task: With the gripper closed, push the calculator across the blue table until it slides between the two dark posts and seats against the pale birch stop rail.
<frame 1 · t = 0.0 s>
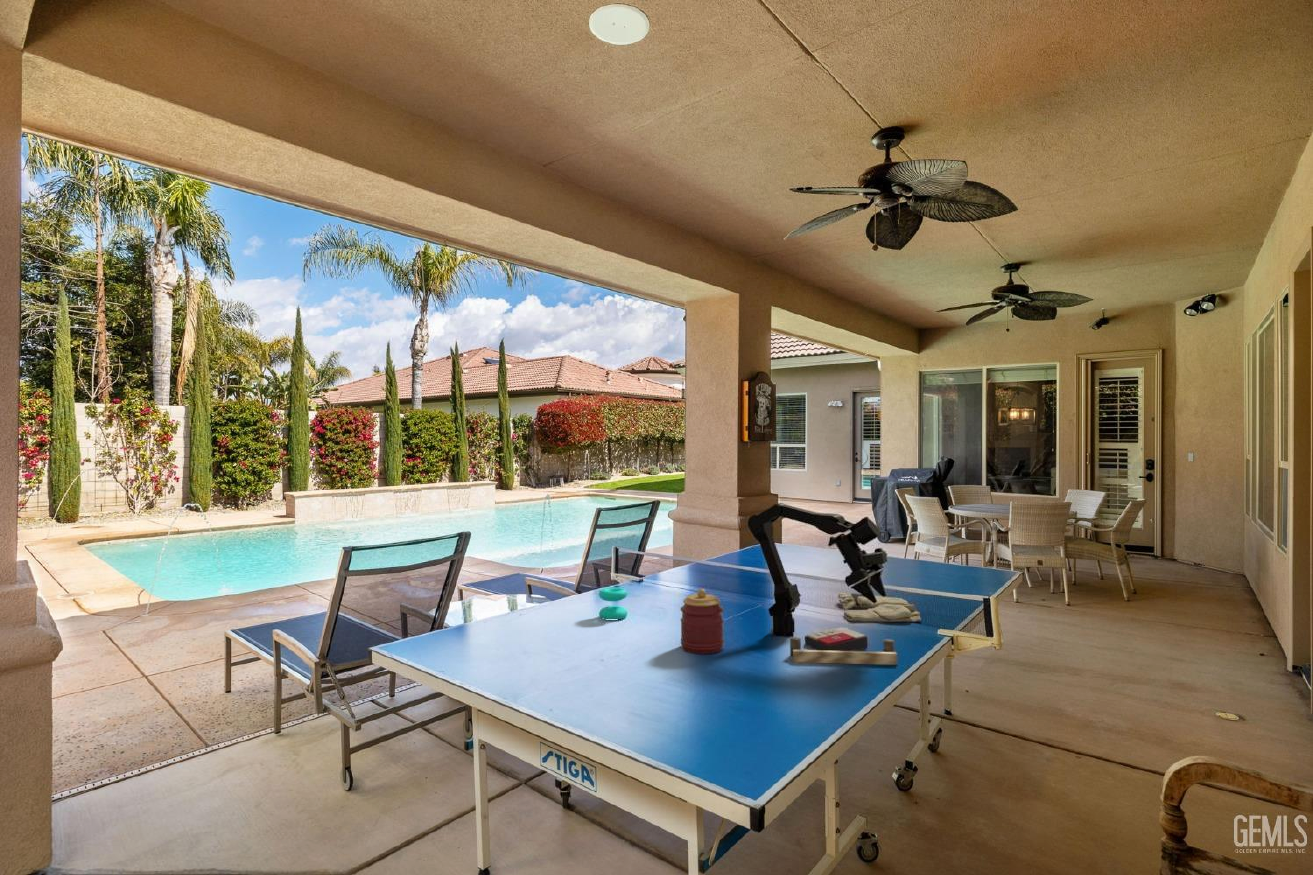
hand: (880, 599, 193), 15 cm above the table, tool tilted 35°, fingers open, 9 cm apart
pair of gloves: (877, 614, 236), on the table
canister: (702, 648, 197), on the table
seat bracket: (844, 662, 183), on the table
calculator: (836, 647, 198), on the table
donuts: (613, 618, 233), on the table
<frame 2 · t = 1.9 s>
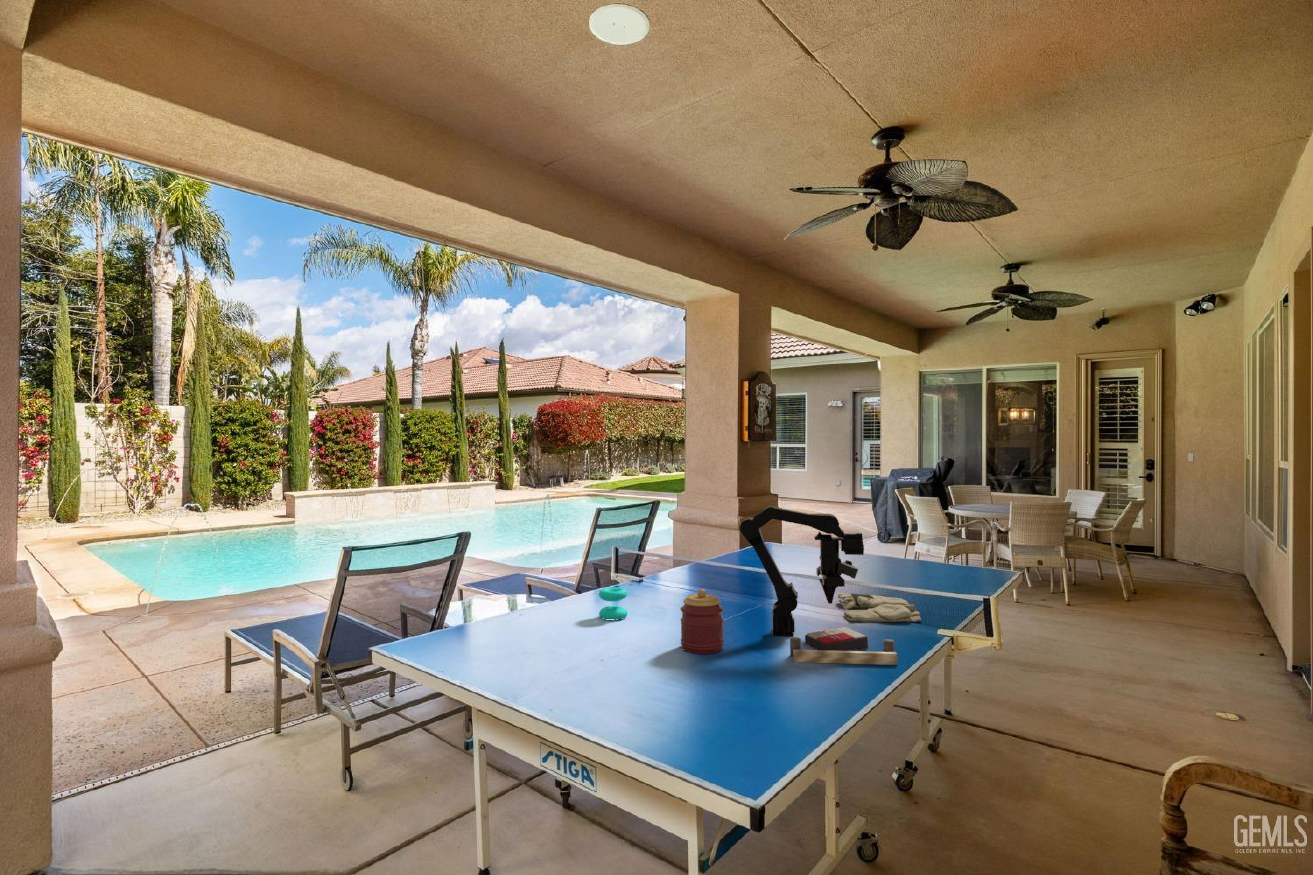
hand: (830, 603, 208), 10 cm above the table, tool pointing down, fingers closed
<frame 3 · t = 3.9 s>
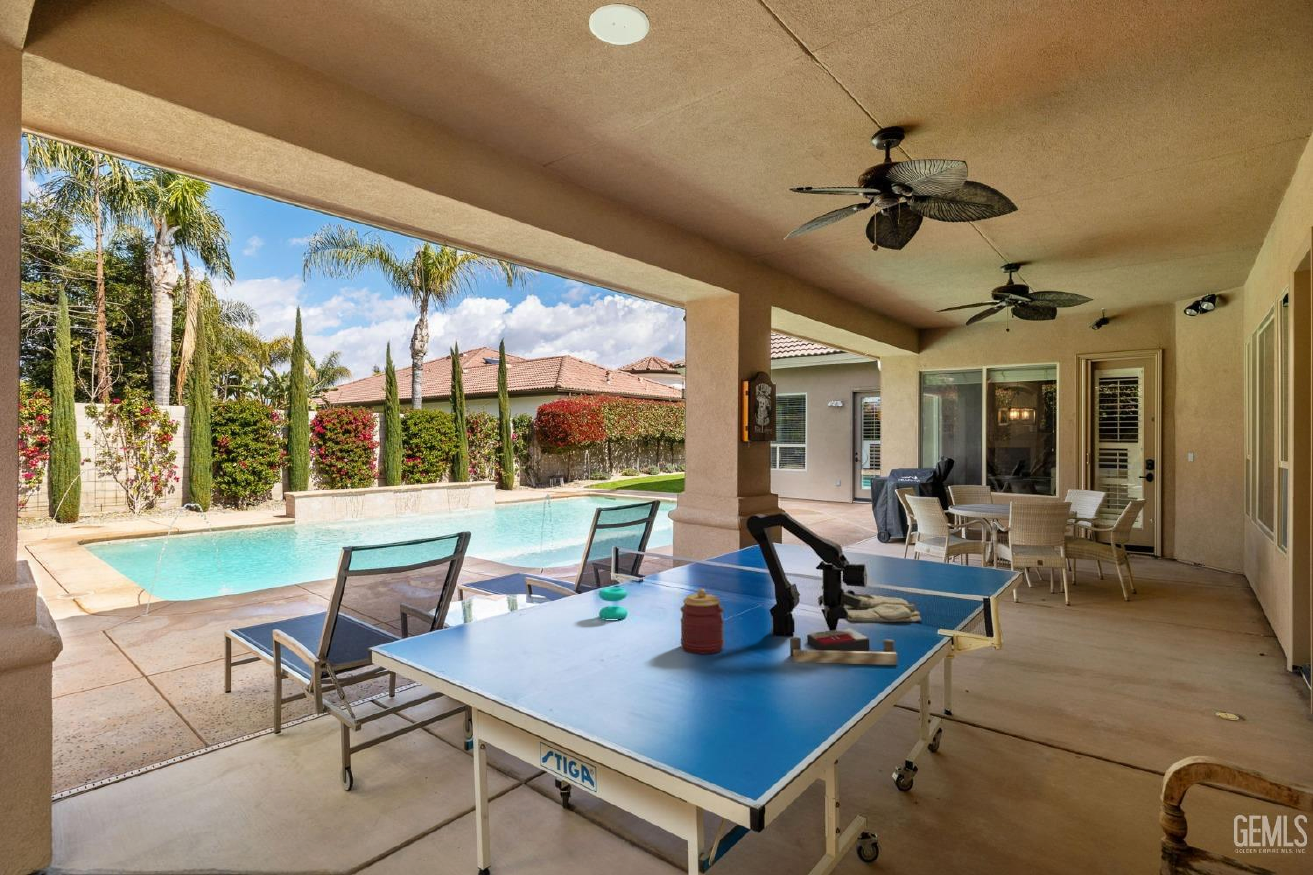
hand: (832, 634, 204), 2 cm above the table, tool pointing down, fingers closed
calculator: (837, 648, 197), on the table, touching gripper
everything else where it was.
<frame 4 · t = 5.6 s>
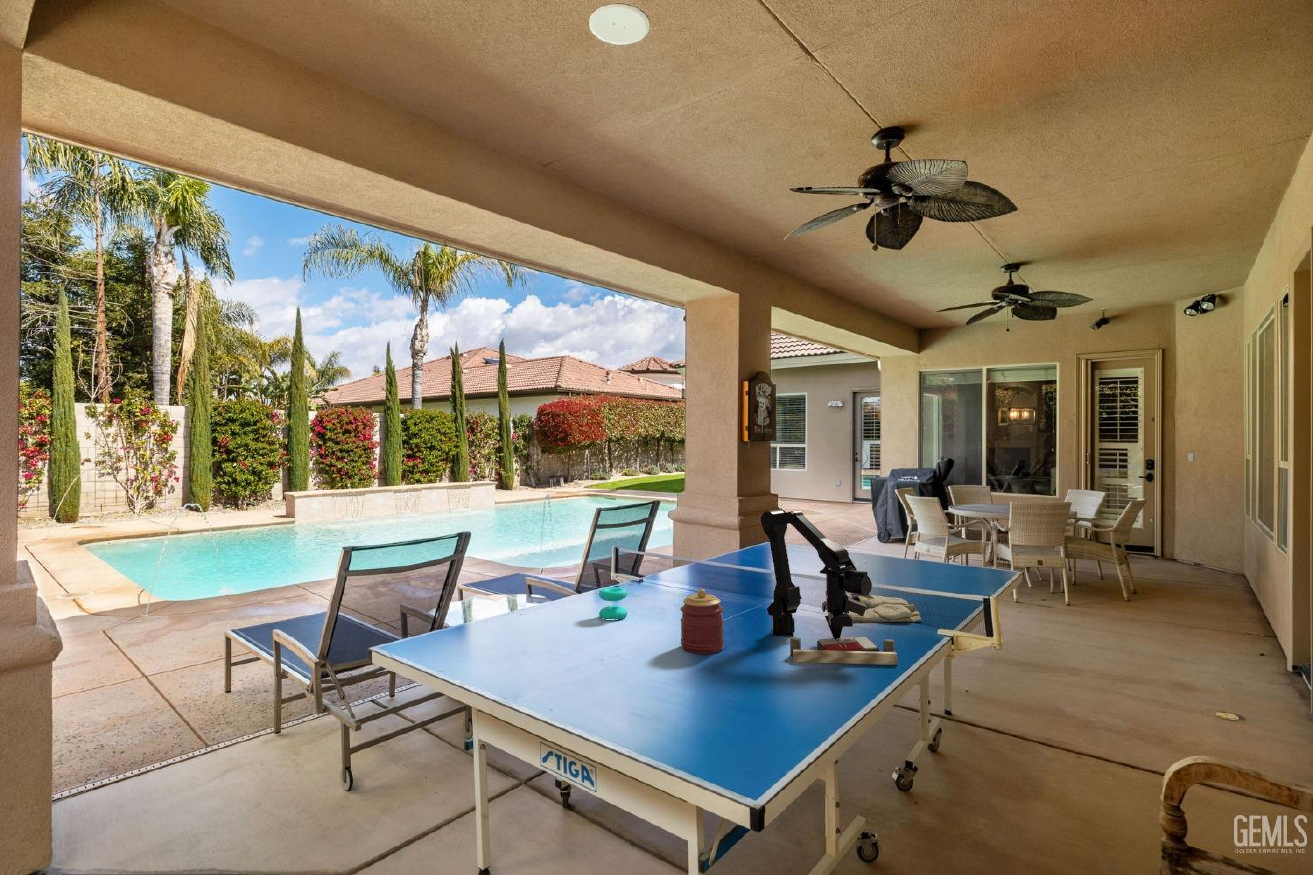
hand: (836, 642, 196), 2 cm above the table, tool pointing down, fingers closed
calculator: (847, 656, 189), on the table, touching gripper, seat bracket
everything else where it was.
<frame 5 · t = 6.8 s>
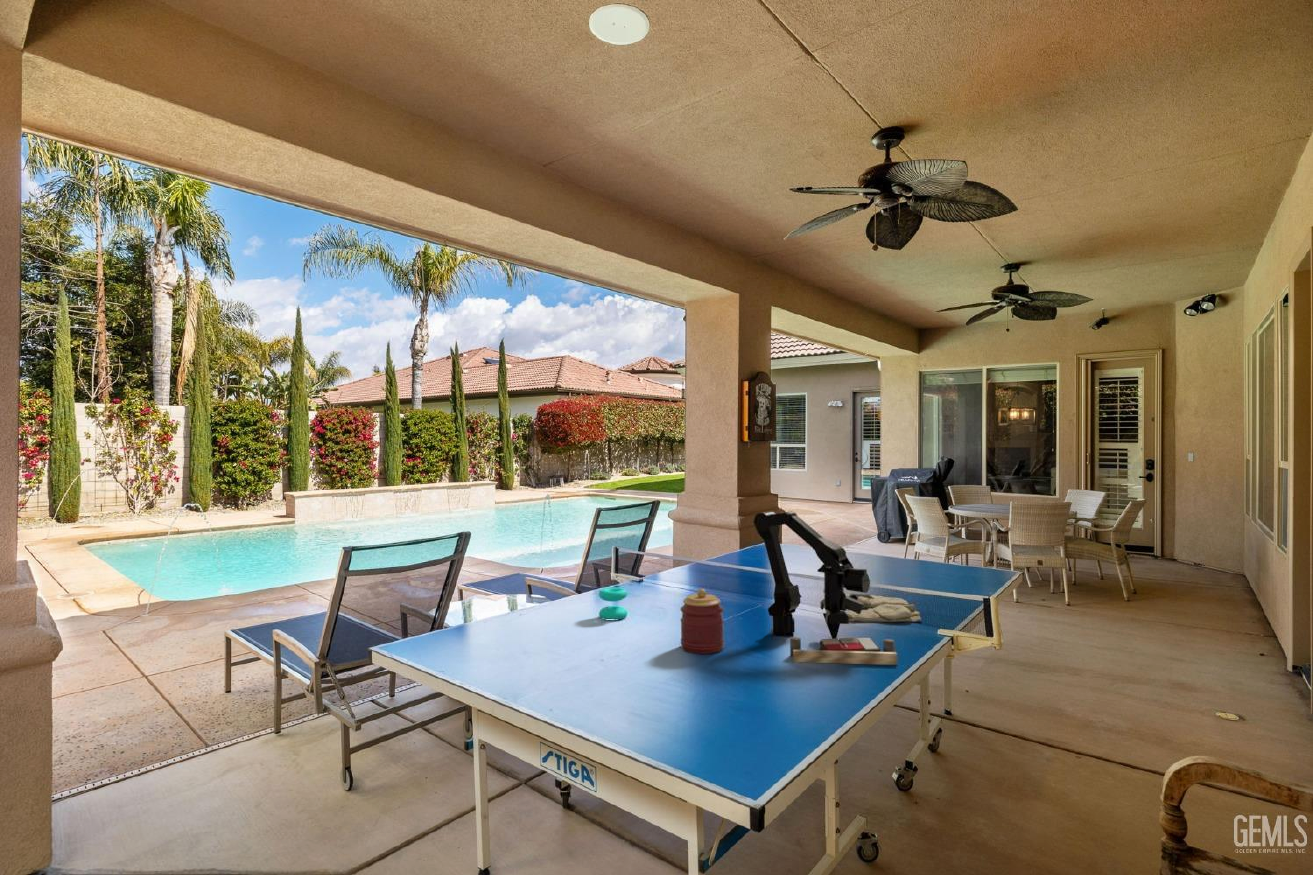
hand: (834, 639, 200), 1 cm above the table, tool pointing down, fingers closed
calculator: (849, 657, 189), on the table
everything else where it was.
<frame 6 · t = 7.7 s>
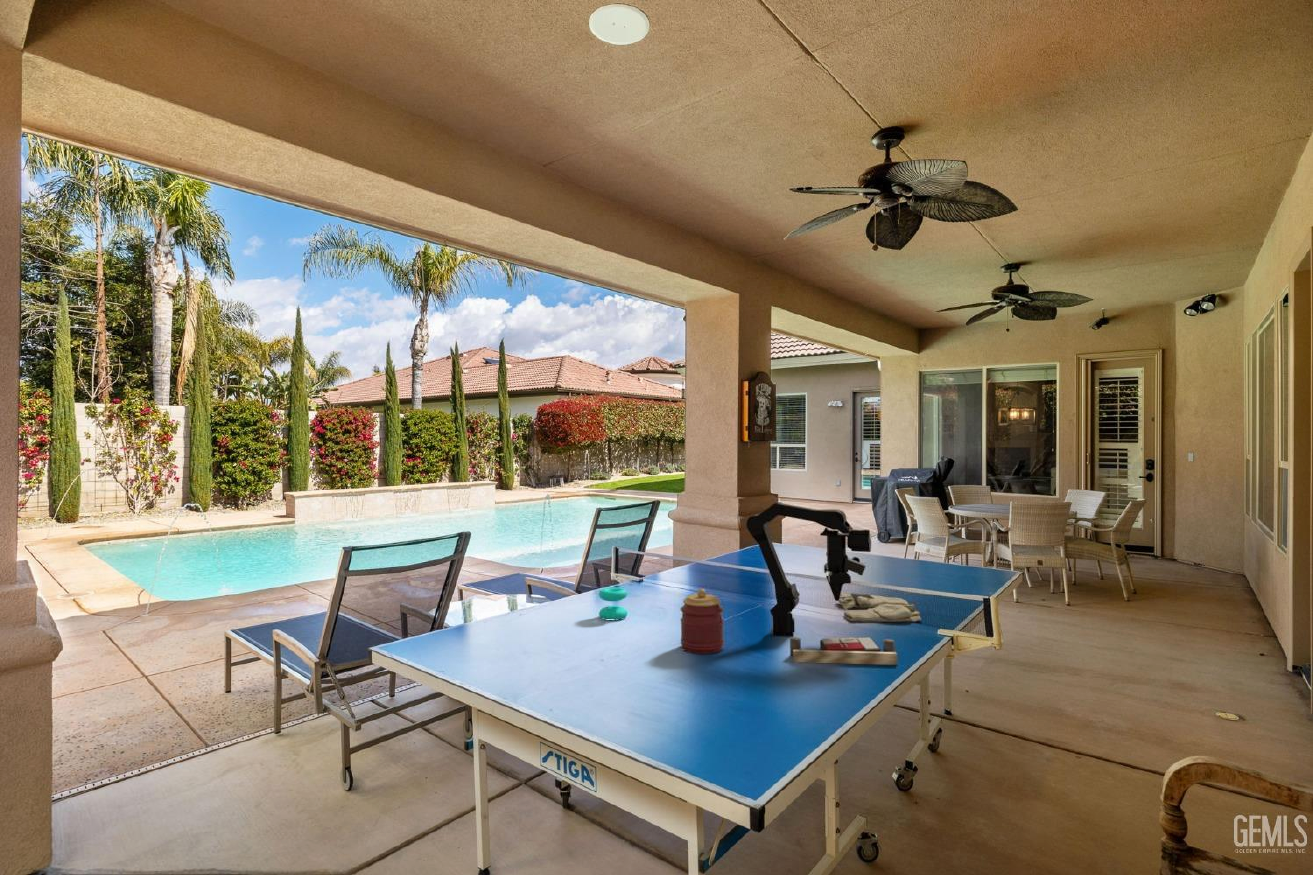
hand: (837, 600, 204), 12 cm above the table, tool pointing down, fingers closed
nothing on the table moved.
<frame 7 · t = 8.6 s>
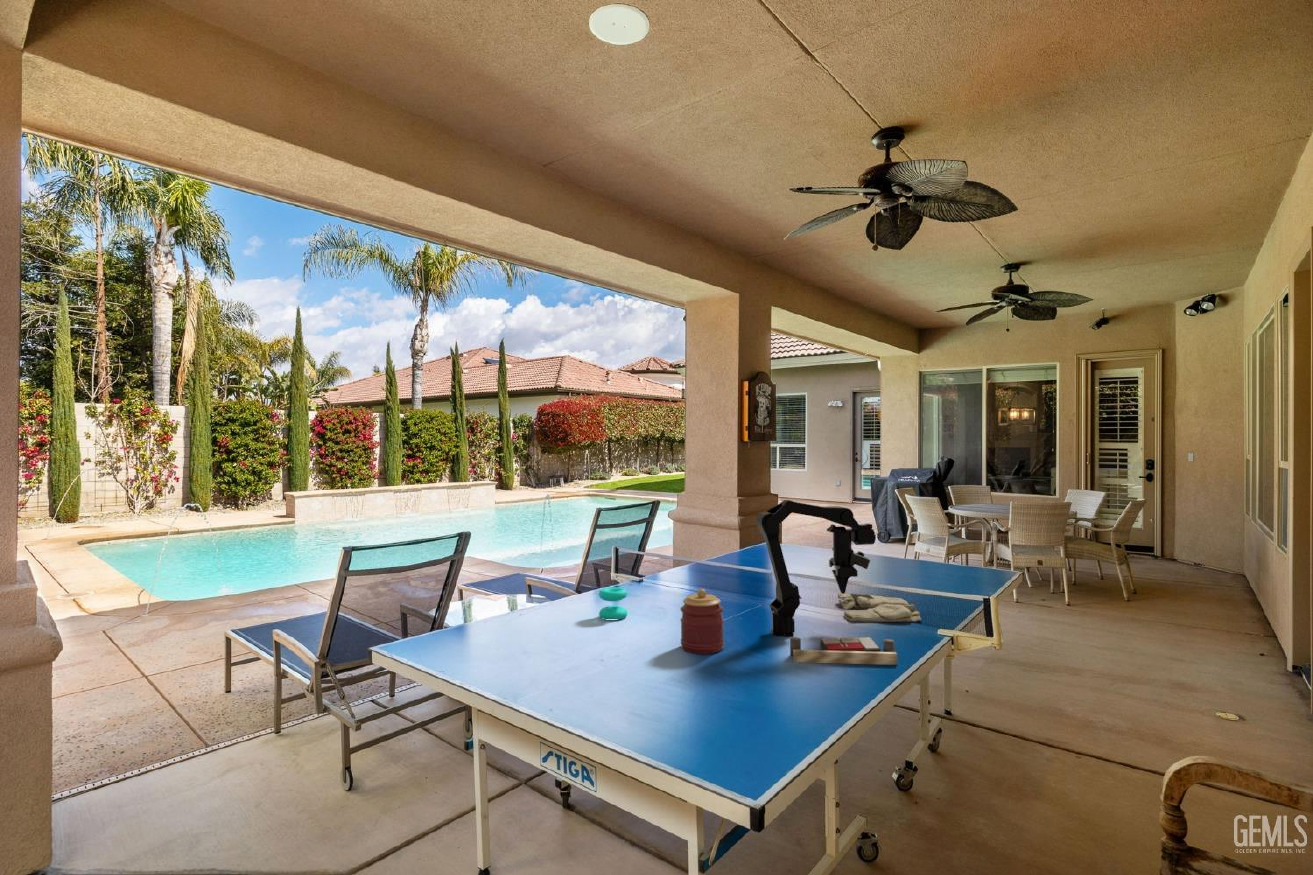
hand: (842, 593, 214), 12 cm above the table, tool pointing down, fingers closed
nothing on the table moved.
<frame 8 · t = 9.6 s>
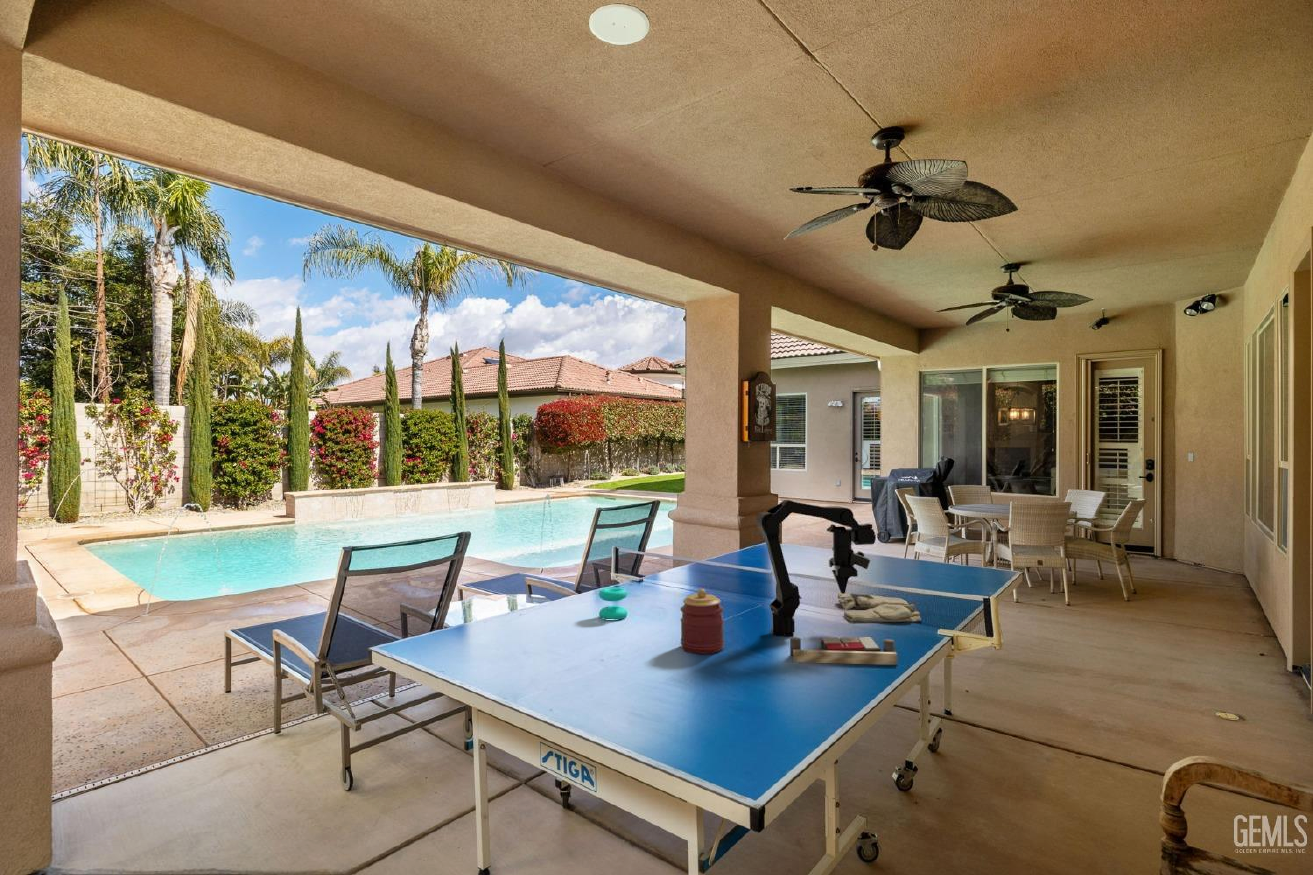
hand: (842, 593, 214), 12 cm above the table, tool pointing down, fingers closed
nothing on the table moved.
at the end: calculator inside the target area (3.0 cm from its centre), on the table; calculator moved 8.1 cm from its start; the gripper is holding nothing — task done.
